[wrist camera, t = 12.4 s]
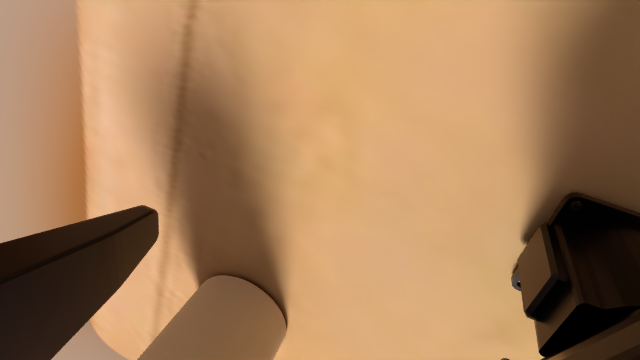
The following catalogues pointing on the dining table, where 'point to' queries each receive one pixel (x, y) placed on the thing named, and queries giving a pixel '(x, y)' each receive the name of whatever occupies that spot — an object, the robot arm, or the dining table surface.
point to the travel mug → (222, 325)
